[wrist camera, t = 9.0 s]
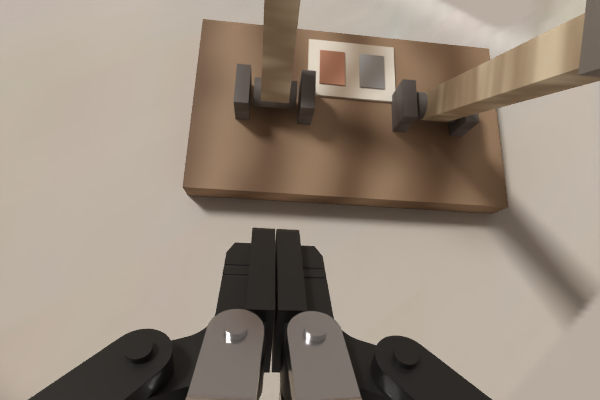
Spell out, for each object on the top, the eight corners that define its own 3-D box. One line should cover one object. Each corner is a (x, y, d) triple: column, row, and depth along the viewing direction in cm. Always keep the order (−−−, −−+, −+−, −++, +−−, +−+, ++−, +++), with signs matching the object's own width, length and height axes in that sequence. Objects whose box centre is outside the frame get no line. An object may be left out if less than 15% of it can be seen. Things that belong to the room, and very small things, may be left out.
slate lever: (408, 126, 30) (661, 48, 11) (411, 89, 29) (674, -56, 11) (445, 129, 30) (754, 58, 11) (449, 92, 30) (769, -43, 11)
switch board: (187, 195, 28) (175, 174, 24) (206, 36, 32) (198, -6, 28) (492, 213, 31) (530, 197, 26) (475, 63, 35) (507, 28, 30)
